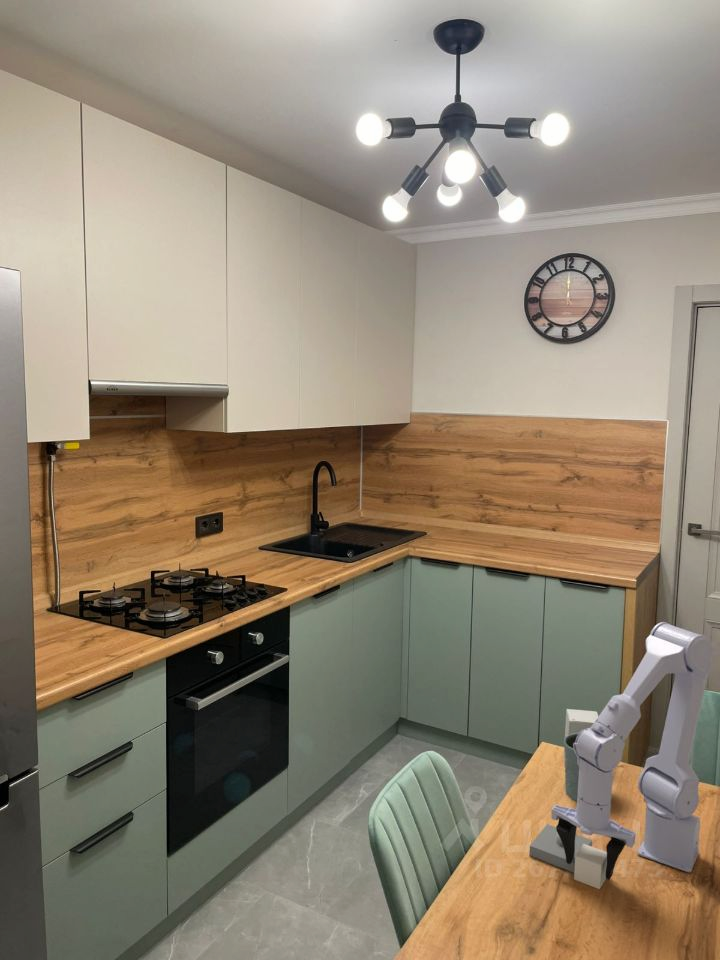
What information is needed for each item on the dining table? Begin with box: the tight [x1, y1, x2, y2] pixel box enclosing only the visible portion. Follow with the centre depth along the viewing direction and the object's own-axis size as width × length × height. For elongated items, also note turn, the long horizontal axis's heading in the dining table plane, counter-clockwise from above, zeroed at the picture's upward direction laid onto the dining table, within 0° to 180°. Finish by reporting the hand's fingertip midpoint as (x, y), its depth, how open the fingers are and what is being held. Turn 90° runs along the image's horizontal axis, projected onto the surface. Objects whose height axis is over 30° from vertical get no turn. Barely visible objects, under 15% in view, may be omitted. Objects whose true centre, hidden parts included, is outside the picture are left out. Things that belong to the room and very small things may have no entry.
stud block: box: [529, 823, 593, 874], centre depth 138 cm, size 9×9×4 cm
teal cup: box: [563, 733, 579, 802], centre depth 159 cm, size 10×10×12 cm
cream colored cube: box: [573, 844, 607, 890], centre depth 131 cm, size 5×5×4 cm
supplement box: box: [563, 708, 599, 763], centre depth 172 cm, size 7×7×13 cm
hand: (589, 868), depth 131 cm, fingers open, 6 cm apart
